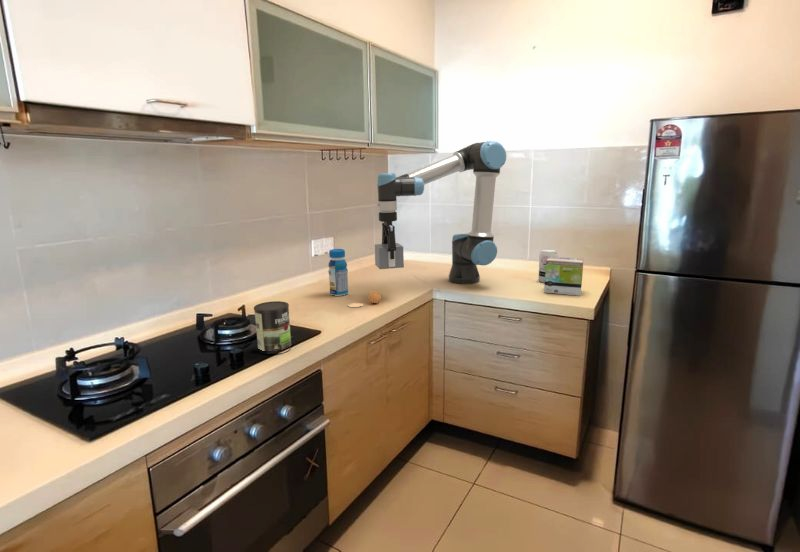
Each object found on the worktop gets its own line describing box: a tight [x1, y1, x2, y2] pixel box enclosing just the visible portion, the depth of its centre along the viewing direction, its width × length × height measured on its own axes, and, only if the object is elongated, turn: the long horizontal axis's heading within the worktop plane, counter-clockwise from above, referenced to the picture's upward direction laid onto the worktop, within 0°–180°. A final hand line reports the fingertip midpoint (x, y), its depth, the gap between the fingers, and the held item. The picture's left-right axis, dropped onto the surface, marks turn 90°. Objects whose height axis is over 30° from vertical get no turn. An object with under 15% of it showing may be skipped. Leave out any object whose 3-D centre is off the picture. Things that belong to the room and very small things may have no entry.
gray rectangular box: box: [374, 242, 405, 270], centre depth 195 cm, size 10×10×9 cm
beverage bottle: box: [327, 248, 349, 297], centre depth 204 cm, size 8×8×20 cm
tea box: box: [543, 256, 584, 297], centre depth 200 cm, size 15×10×15 cm, turn 68°
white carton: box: [537, 248, 559, 284], centre depth 219 cm, size 8×8×15 cm
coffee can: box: [253, 300, 292, 351], centre depth 142 cm, size 10×10×14 cm
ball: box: [368, 291, 382, 304], centre depth 190 cm, size 5×5×5 cm
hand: (389, 264), depth 196 cm, fingers closed on gray rectangular box, 10 cm apart
